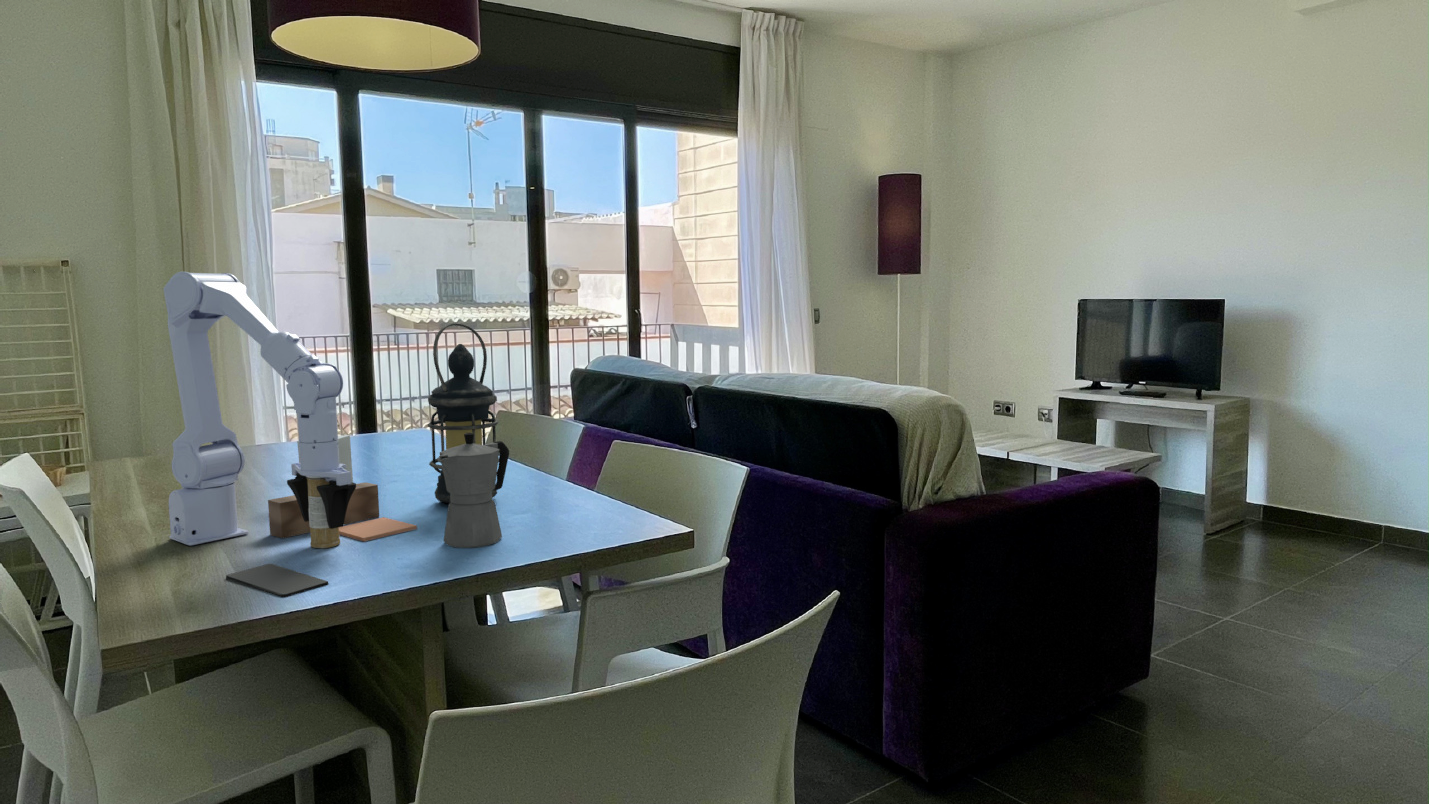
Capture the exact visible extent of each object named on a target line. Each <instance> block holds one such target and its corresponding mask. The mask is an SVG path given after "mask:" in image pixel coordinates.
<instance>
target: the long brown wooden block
mask: <svg viewBox="0 0 1429 804" xmlns="http://www.w3.org/2000/svg"><path fill="white" fill-rule="evenodd" d="M379 501H380V500H379V486H378V484H375V483H370V482H359V483H356V489H355V490H354V492H353V494H352V496H351V498H350V501H349V503H348V507H347V511H346V516H345V521H344V525H343V526H346V525H351V524H356V523H360V522H365V521H369V520H374V519H378V518H380V506H379V505H380V503H379ZM267 504H268V519H269V520H268V521H269V522H268V523H269V535H271V536H273V537H276V538H280V539H284V538H285V539H286V538H289V537H295V536H300V535H304V534H310V532H311V531H310V525H309V521H308V522H305V521H304V519H303V517H302V514H301V510H300V507H299V504H298V502H297V499H296V497H295V495H294V494H293V495H288V496H284V497H278V498H277V497H276V498H271V499H268V500H267Z"/></svg>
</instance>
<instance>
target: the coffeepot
mask: <svg viewBox="0 0 1429 804" xmlns="http://www.w3.org/2000/svg"><path fill="white" fill-rule="evenodd" d="M464 437H465V441H466V444H463V445H460V446H456V447H453V448H450V449H447V450H446V449H444V451H439V456H438V457H437V458H436V459H437V460H438V462H437V463H440V465H442V468H443V473H444V478H445V483H446V488H447V491H448V492H449V493H450V501H451V503H448V507H447V513H446V520H445V522H446V523H445V530H444V536H443V542H444V543H445V544H446V545H447V546H449V547H452V548H457V549H471V548H472V549H474V548H483V547H487V546H488V547H489V546H490V545H494V544H496V543H499V541H500V540H501V538H503V536H502V535H503V534H502V529H501V524H500V520H499V516H498V512H497V511H498V509H497V506H496V502H495V501H494V499H493V498H492V490H493V491H495V490H496V491H499V490H500V489H502V487H503V485H504V480H505V475H506V471H507V466H508V460H509V457H510V450H509V447H507V445H506V444H505V443H504V442H503V441H502V440H499V441H497V440H496V442H494V443H493V442H488V443H486V444H485V445H483V444H482V445H479V444H474V443H473V440H474V433H470V432H469V433H466V434H464ZM498 458H499V462H498Z"/></svg>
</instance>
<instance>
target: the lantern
mask: <svg viewBox="0 0 1429 804" xmlns="http://www.w3.org/2000/svg"><path fill="white" fill-rule="evenodd" d="M453 326H458V327H463V328H465V329H467V330H469V331H471V332H472V333H473V334H474V335H475V336H476V338H477V339H478V341H479V342H480V346H481V348H482V355H483V358H482V359H483V360H482V361H483V362H482V369H481V373H480V377H479V381H478V380H477V379H475V378H472V377H471V376H470V375H471V374H472V372H473V371H474V367H475V360H474V357H473V355H472V353H471V352H470V350H468V349H467V347H465V345H464V344H463V343H459V344H457V345H456V346H455V347H454V348H453V350H452V352H450V354H449V355H448V359H447V365H448V369H449V372H450V373H451V374H452V375H453V376H452V377H451V378H450V379H448V380H446V381H445V380H444V377H443V375H442V373H441V372H442V371H440V366H439V363H438V356H437V355H438V342H439V339H440V336H441V335H442V333H443V332H444V331H445V330H446V329H447V328H449V327H453ZM432 354H433V355H432V357H433V363H434V367H435V371H436V373H437V377H438V378H439V382H440V386H437V387H435V388H434V389H433V390H431V394H429V395H428V396H427V402H428V404H429V405H430V406H431V407H433V408H436V411H435V412H434V413H433V414H431V416H430V417H431V418H430V419H431V420H430V422H429V423H427V427H429V429H431V450H432V453H431V454H432V460H431V461H430V462H429V466H430V467H432V468H433V469H434V470H435V471H436V472H438V474H439V475H438V476H437V483H436V489H435V491H434V496H435V499H437V501H438V502H441V503H444V504H450V503H451V501H450V493H449V492H448V491H447V488H446V483H445V478H444V473H443V468H442V464H437V463H439V462H438V460H437V458H436V440H435V439H436V438H435V430H437V431H440V447H441V451H440V452H442V451H444V450H447V449H450V448H453V447H456V446H460V445H463V444H466V441H465V437H464V434H466V433H469V432H470V433H474V440H473V443H474V444H479V445H485V444H487V443H486V429H488V428H492V443H494V442H497V439H496V436H497V435H496V426H497V425H498V424H499V420H497V419H496V418H495V414H494V413H493V412H492V411H491V410H490V406H492V405H494V404H495V403H496V402H497V401H498V397H497V395H495V393H494V391H493V390H492V389H491V388H489V387H488V386H487V385H484V379H485V374H486V370H487V363H488V355H487V354H488V353H487V348H486V345H485V343H484V340H483V339H482V337H481V335H480V334H479V333H478V332H477V331H476V330H475V329H473V328H472V327H470V326H468V325H466V324H462V323H458V322H456V323H455V322H453V323H449V324H446V325H444V326H442V327H441V328H440V329H439V330H438V332H437V334H436V336H435V339H434V341H433V351H432ZM489 415H490V416H491V417H490V418H489ZM436 416H437V419H436V420H435V417H436ZM439 424H440V425H439ZM444 431H445V433H444ZM498 463H499V458H498ZM497 494H498V490H495V491H493V490H492V499H493V498H495V497H496V496H497Z"/></svg>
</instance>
